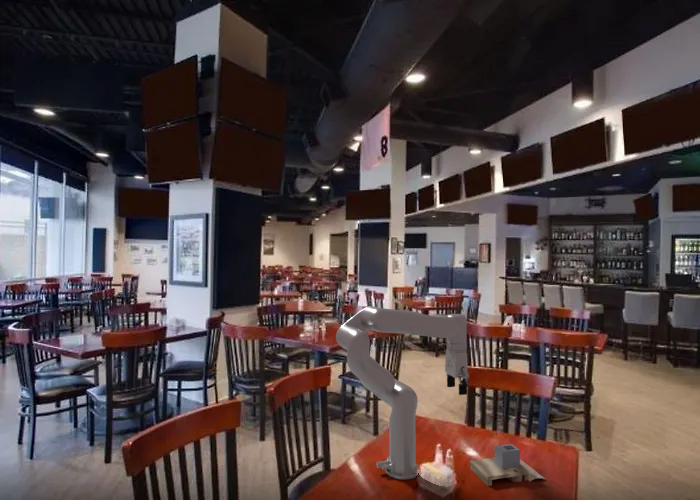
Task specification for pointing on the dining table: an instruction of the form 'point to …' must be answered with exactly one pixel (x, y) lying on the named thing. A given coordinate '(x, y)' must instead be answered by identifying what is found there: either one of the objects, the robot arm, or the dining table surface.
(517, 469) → the miniature wooden pallet
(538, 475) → the beige piece
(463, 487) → the dining table surface
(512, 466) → the grey hollow block
